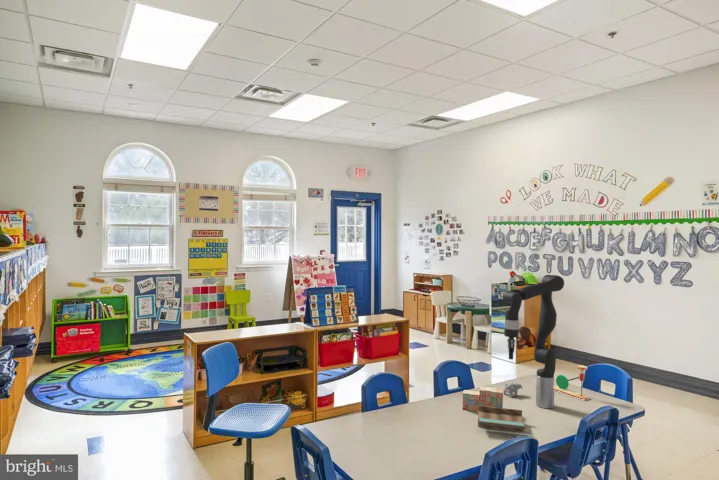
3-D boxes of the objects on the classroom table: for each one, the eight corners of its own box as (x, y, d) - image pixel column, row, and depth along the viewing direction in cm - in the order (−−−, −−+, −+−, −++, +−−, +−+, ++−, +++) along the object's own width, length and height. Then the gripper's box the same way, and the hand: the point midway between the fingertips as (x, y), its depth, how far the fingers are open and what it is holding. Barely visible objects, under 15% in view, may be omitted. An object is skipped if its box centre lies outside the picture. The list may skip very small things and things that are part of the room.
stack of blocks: (462, 409, 258) (462, 387, 258) (463, 405, 264) (463, 384, 264) (502, 415, 251) (502, 392, 251) (502, 411, 257) (503, 389, 257)
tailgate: (523, 422, 229) (524, 426, 221) (523, 425, 228) (524, 429, 221) (479, 417, 234) (479, 421, 226) (479, 420, 234) (479, 423, 226)
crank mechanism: (590, 399, 279) (591, 367, 279) (583, 401, 276) (584, 368, 276) (555, 387, 301) (555, 357, 301) (548, 388, 298) (548, 358, 298)
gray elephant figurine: (500, 395, 284) (500, 382, 284) (512, 390, 292) (512, 378, 291) (514, 399, 277) (514, 387, 277) (525, 394, 284) (525, 382, 284)
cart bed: (521, 422, 241) (521, 410, 241) (523, 431, 229) (524, 418, 229) (478, 417, 246) (478, 405, 246) (478, 426, 235) (478, 413, 235)
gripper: (519, 330, 249) (519, 362, 249) (517, 326, 262) (517, 356, 262) (505, 329, 251) (504, 361, 251) (503, 325, 264) (503, 355, 264)
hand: (510, 358), depth 257 cm, fingers closed
